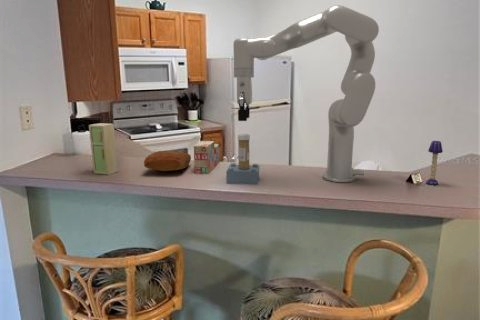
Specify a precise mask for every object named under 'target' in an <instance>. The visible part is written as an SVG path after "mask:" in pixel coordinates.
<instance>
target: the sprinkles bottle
mask: <svg viewBox="0 0 480 320" xmlns="http://www.w3.org/2000/svg"><path fill="white" fill-rule="evenodd" d="M250 136H251V135H250V134H248V133H239V134H237V141H238V142H237V143H238V153H237V155H238V156H237V157H238V160H237V161H238V165H239V166H238V168H240V169H248V168H250V166H249V165H250V138H251V137H250Z"/></svg>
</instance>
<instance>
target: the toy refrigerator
mask: <svg viewBox="0 0 480 320" xmlns="http://www.w3.org/2000/svg"><path fill="white" fill-rule="evenodd" d="M88 131H89V132H88V133H89V139H90V140H89V141H90V149H91V157H92V159H91V160H92V166H93V173H94V174H99V175H100V174H101V175H107V174H108V175H111V174H113V173H116V172H119V163H118V153H117V151H118V150H117V143H116V133H115V132H116V131H115V124H114V123H107V122H106V123H101V122H99V123H93V124H88Z"/></svg>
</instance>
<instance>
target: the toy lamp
mask: <svg viewBox="0 0 480 320" xmlns="http://www.w3.org/2000/svg"><path fill="white" fill-rule="evenodd" d="M442 145H443V144H442V141H439V140H432V141H431V143H430V144H429V147H428V152H429V153H432V158H431V159H432V160H431V168H430V177H429V179H427V180H426V181H425V184H426V185H429V186H432V185H434V186H436V185H437V186H439V182H438V180H437V179H436V174H437V173H436V172H437V163H438V158H439V157H438V155H439V154H442V153H443V152H444V151H443V146H442ZM434 186H433V187H434Z"/></svg>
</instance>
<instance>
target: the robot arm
mask: <svg viewBox="0 0 480 320" xmlns="http://www.w3.org/2000/svg"><path fill="white" fill-rule="evenodd" d="M379 29H380V28H379V25H378V22H377V21H376V20H375V19H373V18H372V17H369V15H367V14H364V13H361V12H358V11H356V10H354V9H351V8H349V7H346V6H344V5H340V4H336V5H335V4H334V5H333V6H332V5H331V6H330V7H329V8H327V9H325V10H324V11H321V12H319V13H317V14H314V15H312V16H309V17H306V18H304V19H303V20H299V21H297V22H294V23H292V24H290V25H289V26H288V27H286V28H285V29H283V30H281V31H279V32H277V33H275V34H273V35H271V36H268V37H265V36H264V37H258V38H247V37H246V38H245V37H244V38H236V39H234V40H233V78H236V103H237V105H238V106H237V107H238V109H237V120H238V122H247V121H248V119H249V118H250V105H251V104H252V103H253V89H252V87H253V85H252V83H253V82H252V78H255V59H257V60H260V61H266V60H269V59H270V58H273V57H275V56H277V55H280V54H282V53H285V52H287V51H290V50H293V49H297V48H301V47H304V46H306V45H309V44H310V43H313V42H315V41H317V40H320V39H322V38H326V37H328V36H330V35H332V34H334V33H336V32H337V33H340V34H342V35H344V37H345V41H346V43H347V45H348V46H349V48H350V53H351V54H350V59H349V63H348V65H347V68H346V69H345V70H346V71H345V73H344V75H343V78H342V81H341V83H340V90H341V92H342V94H343V95H344V98H340V99H337V100H335V101H333V102H332V104H330V106H329V109H328V114H327V115H328V117H327V118H328V119H327V120H328V143H327V144H328V145H327V146H328V147H327V160H326V161H327V163H326V172H324V173H322V178H323V179H324V180H326V181H329V182H334V183H350V182H354V181H355V179H356V176H364V174H365V171H364V170H360V169H354V168H353V166H352V165H353V155H354V154H353V153H354V152H353V151H354V137H355V127H356V126H358V125H360V123H361V122H363V120H364V119H365V116H366V114H367V112H368V109H369V106H370V104H371V102H372V99H373V97H374V94H375V90H376V79H375V78H374V76H373V75H372V74H371V71H372V68H373V66H374V61H375V58H376V57H375V56H376V51H375V45H374V43H373V41H374V40H375V39H376V38H377V37H378V35H379Z"/></svg>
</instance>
